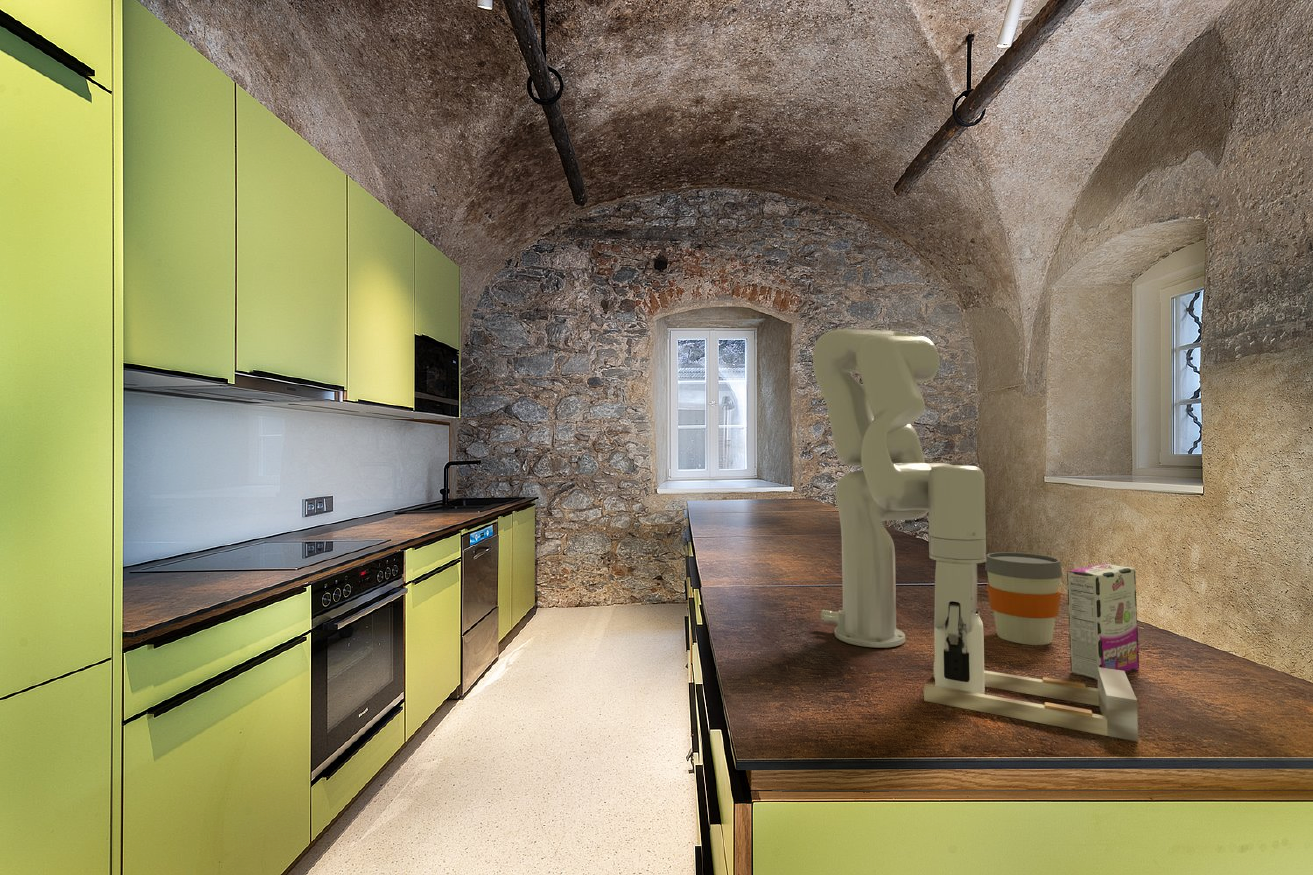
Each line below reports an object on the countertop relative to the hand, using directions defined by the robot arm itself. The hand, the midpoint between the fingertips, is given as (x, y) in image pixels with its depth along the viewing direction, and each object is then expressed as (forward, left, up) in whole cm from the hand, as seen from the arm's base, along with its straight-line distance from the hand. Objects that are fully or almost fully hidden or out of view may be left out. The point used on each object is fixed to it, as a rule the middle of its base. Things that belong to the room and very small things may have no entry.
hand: (959, 670), depth 89 cm
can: (0, 0, -3) cm, 3 cm away
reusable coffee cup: (+8, +35, -3) cm, 36 cm away
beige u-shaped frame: (+7, 0, -3) cm, 8 cm away
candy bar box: (+19, +21, -3) cm, 29 cm away
